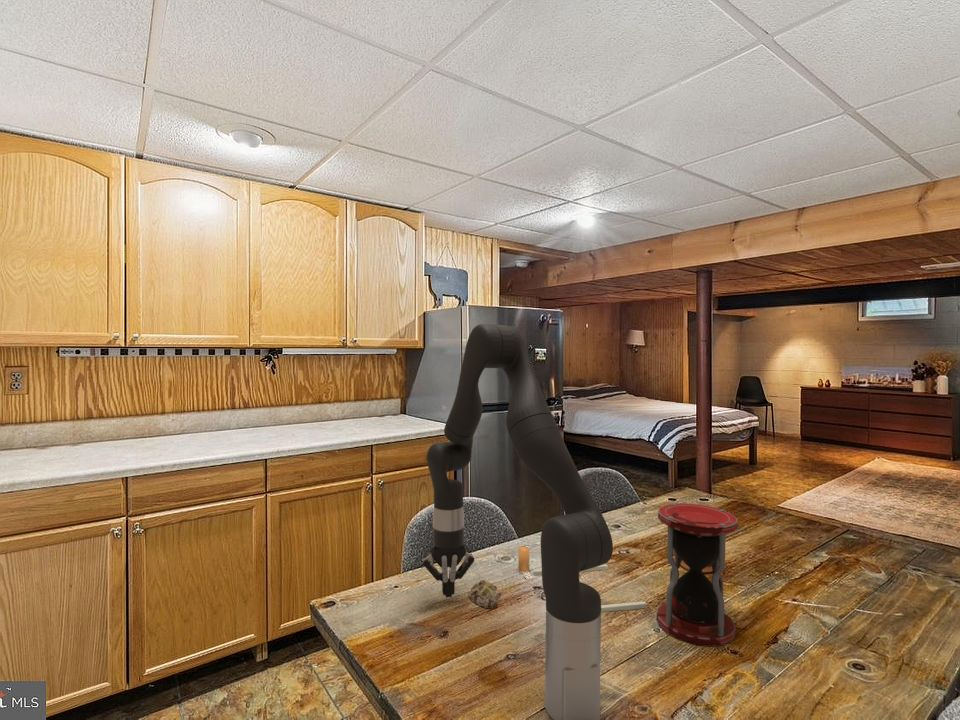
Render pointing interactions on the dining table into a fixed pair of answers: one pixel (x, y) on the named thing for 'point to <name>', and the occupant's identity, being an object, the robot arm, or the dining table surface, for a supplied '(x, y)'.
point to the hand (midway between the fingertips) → (448, 595)
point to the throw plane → (524, 567)
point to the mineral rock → (484, 594)
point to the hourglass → (696, 574)
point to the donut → (706, 569)
